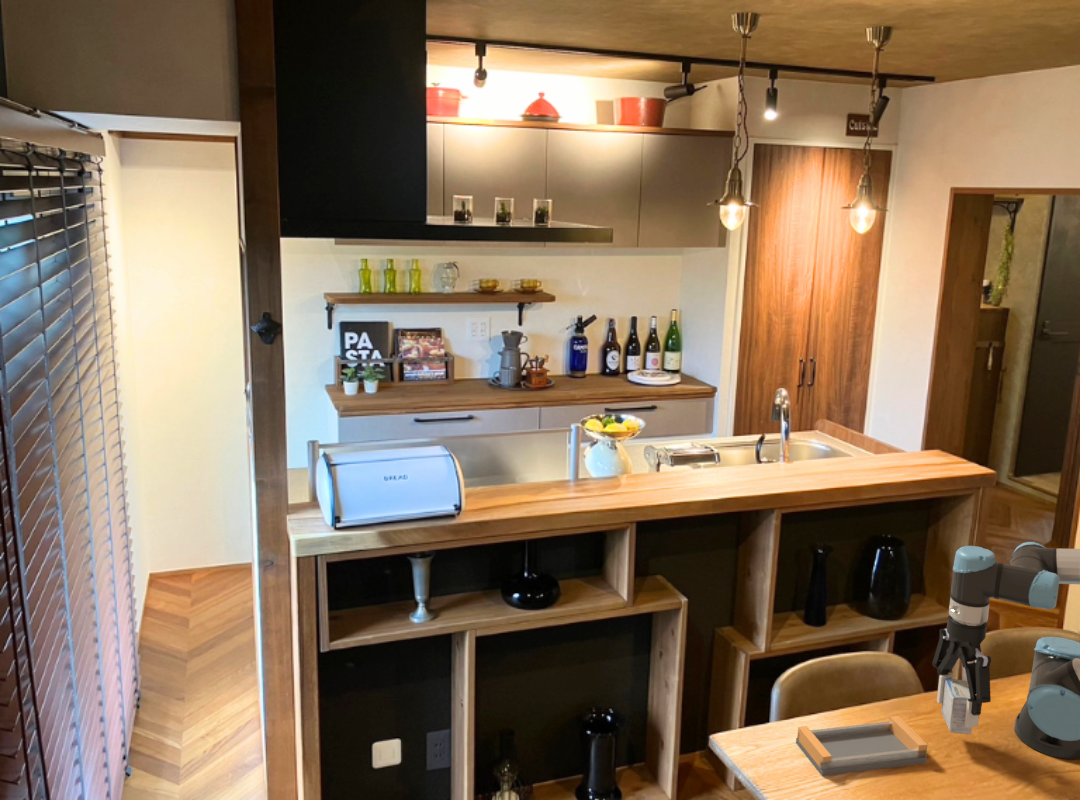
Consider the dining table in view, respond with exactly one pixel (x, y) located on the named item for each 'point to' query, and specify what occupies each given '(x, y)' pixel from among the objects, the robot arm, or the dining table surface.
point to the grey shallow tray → (862, 747)
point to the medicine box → (955, 705)
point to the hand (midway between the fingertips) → (956, 713)
